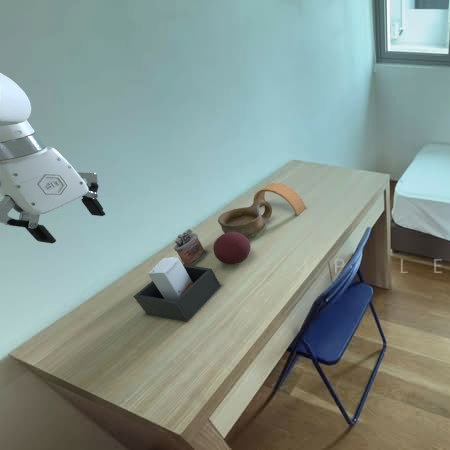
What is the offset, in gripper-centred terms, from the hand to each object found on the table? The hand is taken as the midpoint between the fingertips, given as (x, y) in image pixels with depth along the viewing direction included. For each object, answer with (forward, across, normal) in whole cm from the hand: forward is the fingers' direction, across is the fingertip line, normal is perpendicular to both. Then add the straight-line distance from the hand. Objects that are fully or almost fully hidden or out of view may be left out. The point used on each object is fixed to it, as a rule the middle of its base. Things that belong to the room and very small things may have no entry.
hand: (75, 227), depth 64 cm
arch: (+28, +55, -7) cm, 62 cm away
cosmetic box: (+28, +7, -6) cm, 29 cm away
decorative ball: (+28, +24, -10) cm, 39 cm away
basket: (+28, +7, -6) cm, 30 cm away
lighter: (+28, +22, +4) cm, 36 cm away
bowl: (+28, +40, -4) cm, 49 cm away
